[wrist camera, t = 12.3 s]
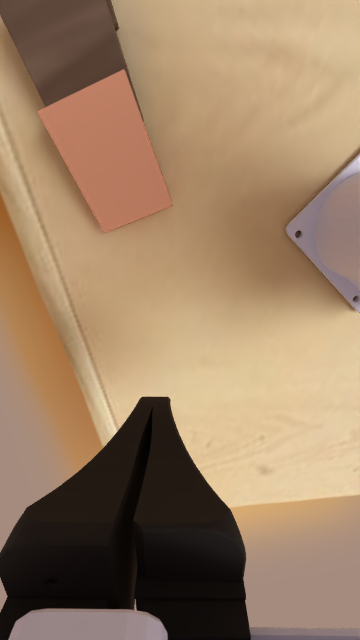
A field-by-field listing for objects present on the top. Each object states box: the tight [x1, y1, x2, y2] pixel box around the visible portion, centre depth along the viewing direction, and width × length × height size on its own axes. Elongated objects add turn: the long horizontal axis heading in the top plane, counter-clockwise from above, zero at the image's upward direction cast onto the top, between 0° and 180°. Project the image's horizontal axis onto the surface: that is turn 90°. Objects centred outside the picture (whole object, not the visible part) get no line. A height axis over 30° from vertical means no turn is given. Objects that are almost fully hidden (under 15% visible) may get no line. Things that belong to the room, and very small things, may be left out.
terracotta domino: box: [37, 69, 173, 233], centre depth 17 cm, size 2×5×7 cm
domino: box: [0, 0, 144, 122], centre depth 15 cm, size 2×5×7 cm
